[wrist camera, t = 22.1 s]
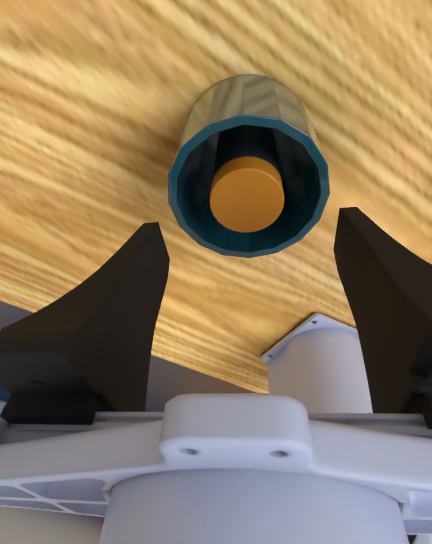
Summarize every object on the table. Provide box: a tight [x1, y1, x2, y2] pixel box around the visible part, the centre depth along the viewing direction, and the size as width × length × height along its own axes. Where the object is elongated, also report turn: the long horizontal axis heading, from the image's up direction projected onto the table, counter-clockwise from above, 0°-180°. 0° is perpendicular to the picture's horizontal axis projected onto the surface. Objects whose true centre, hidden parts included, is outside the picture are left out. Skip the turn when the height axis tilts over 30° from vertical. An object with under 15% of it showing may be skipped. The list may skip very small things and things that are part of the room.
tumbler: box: [168, 74, 330, 258], centre depth 17 cm, size 7×7×6 cm
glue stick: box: [210, 125, 284, 232], centre depth 17 cm, size 3×3×6 cm
